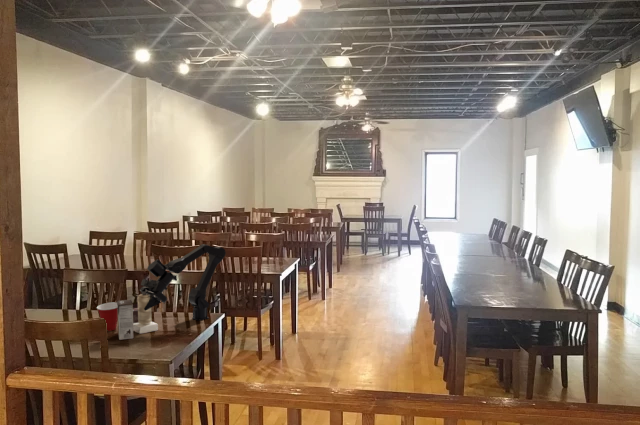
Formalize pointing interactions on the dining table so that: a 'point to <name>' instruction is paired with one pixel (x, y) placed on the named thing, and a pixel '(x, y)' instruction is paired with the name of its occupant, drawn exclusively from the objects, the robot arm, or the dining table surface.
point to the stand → (145, 327)
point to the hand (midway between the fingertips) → (141, 308)
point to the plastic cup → (109, 314)
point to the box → (135, 315)
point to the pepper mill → (142, 314)
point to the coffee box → (125, 319)
